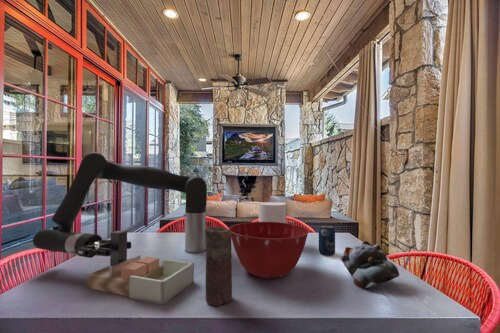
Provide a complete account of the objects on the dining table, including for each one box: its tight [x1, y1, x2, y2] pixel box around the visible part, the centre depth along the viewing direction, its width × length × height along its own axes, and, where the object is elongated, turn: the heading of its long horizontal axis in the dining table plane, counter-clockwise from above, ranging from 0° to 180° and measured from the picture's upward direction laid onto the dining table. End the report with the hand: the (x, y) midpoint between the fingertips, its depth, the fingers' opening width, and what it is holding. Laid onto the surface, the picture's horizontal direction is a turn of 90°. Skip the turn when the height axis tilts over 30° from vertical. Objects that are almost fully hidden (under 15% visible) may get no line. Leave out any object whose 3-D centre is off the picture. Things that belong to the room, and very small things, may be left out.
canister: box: [258, 201, 287, 223], centre depth 129 cm, size 14×14×20 cm
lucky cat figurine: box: [340, 240, 400, 290], centre depth 86 cm, size 15×12×14 cm
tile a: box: [136, 256, 160, 273], centre depth 85 cm, size 5×5×3 cm
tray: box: [128, 258, 195, 305], centre depth 79 cm, size 11×16×6 cm
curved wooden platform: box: [86, 264, 163, 297], centre depth 84 cm, size 17×14×4 cm
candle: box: [205, 226, 233, 306], centre depth 73 cm, size 8×7×20 cm
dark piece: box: [109, 229, 142, 277], centre depth 85 cm, size 5×12×12 cm, turn 161°
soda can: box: [318, 224, 336, 257], centre depth 113 cm, size 7×7×12 cm
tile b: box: [121, 262, 146, 279], centre depth 79 cm, size 5×5×3 cm
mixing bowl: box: [228, 221, 310, 279], centre depth 94 cm, size 28×28×16 cm
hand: (120, 248), depth 85 cm, fingers open, 8 cm apart
